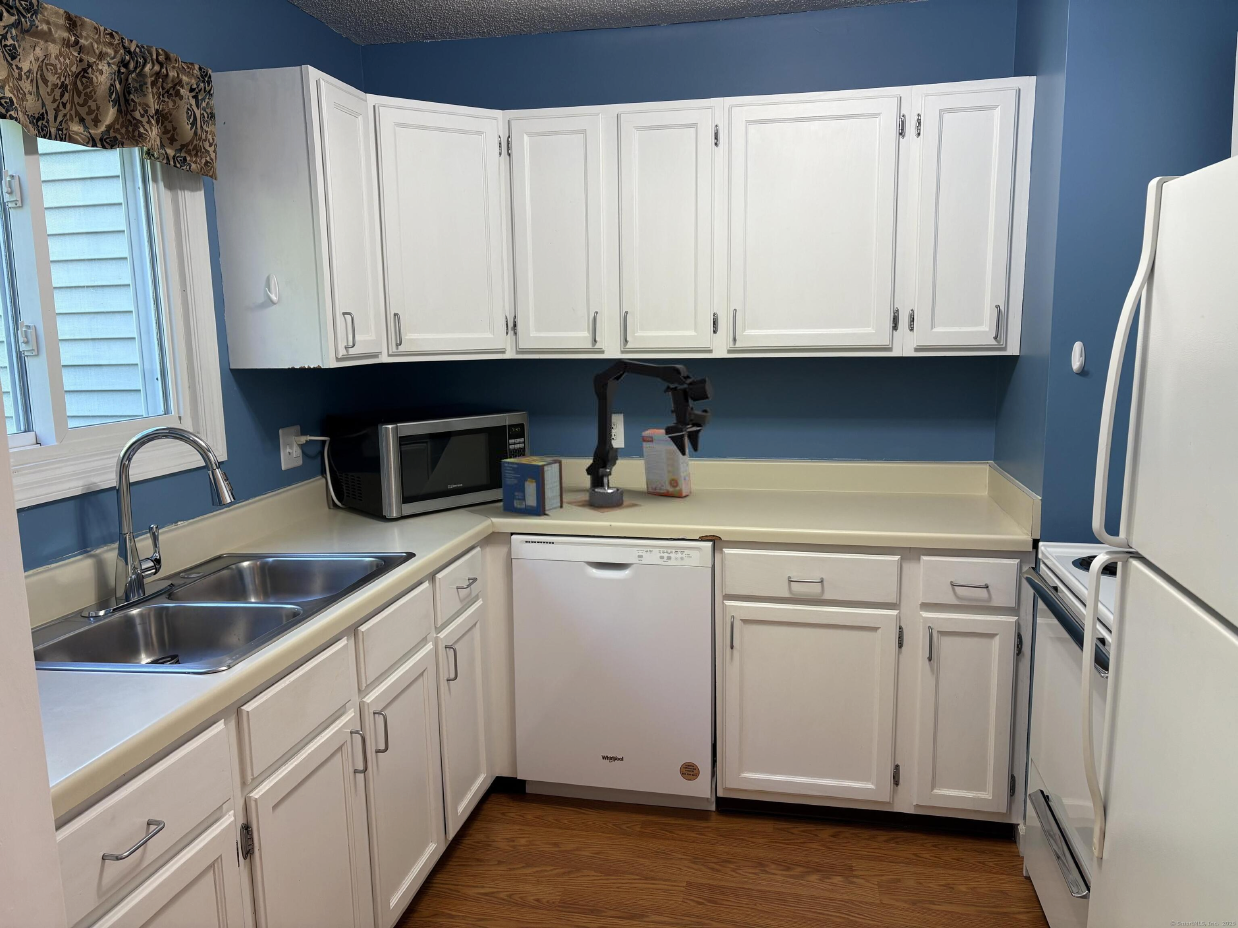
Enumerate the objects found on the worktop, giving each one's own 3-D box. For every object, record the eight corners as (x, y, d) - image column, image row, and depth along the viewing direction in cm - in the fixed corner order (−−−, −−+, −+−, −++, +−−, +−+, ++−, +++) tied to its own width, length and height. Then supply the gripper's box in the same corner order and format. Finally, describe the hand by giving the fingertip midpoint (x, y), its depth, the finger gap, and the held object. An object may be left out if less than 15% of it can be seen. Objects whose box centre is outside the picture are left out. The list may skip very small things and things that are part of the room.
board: (560, 503, 268) (560, 501, 268) (601, 497, 277) (601, 495, 277) (602, 515, 250) (602, 512, 250) (644, 508, 260) (644, 505, 260)
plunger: (590, 490, 262) (590, 469, 261) (608, 488, 266) (607, 466, 265) (603, 494, 257) (603, 471, 256) (621, 491, 261) (620, 469, 260)
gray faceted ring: (577, 502, 265) (577, 488, 265) (604, 498, 271) (604, 484, 271) (602, 509, 255) (602, 494, 254) (629, 504, 261) (629, 490, 261)
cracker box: (692, 492, 280) (687, 430, 274) (682, 498, 275) (678, 435, 270) (656, 488, 288) (651, 428, 283) (646, 493, 283) (641, 432, 278)
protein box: (524, 505, 267) (523, 455, 264) (563, 510, 258) (562, 459, 256) (501, 511, 258) (500, 460, 256) (541, 516, 250) (540, 464, 247)
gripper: (692, 403, 257) (701, 454, 258) (716, 398, 273) (725, 446, 274) (659, 409, 262) (668, 459, 263) (684, 404, 279) (693, 451, 280)
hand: (690, 453), depth 270 cm, fingers open, 9 cm apart
